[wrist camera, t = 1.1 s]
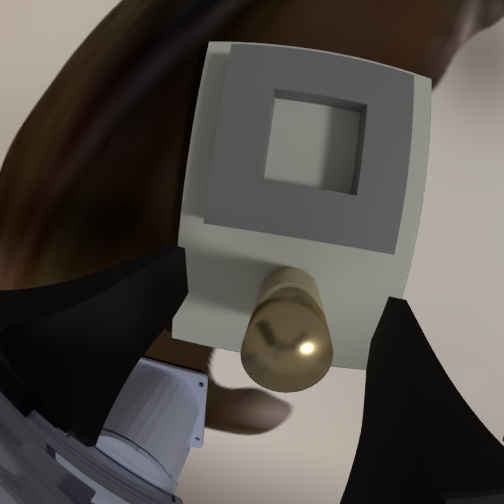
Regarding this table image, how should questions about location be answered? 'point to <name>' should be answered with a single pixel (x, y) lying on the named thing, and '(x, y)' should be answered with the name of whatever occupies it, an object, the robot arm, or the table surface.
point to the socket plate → (265, 253)
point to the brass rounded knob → (287, 333)
